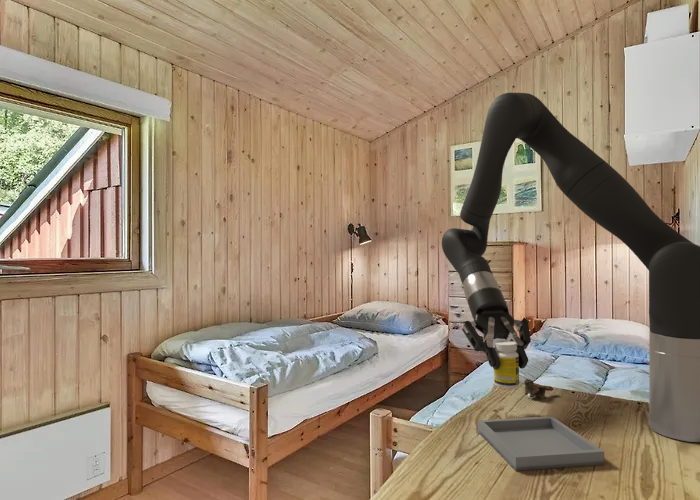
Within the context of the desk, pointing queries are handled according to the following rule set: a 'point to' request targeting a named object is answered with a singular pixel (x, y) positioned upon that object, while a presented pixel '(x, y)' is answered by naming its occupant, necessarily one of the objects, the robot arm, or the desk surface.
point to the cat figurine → (535, 389)
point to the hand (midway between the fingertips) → (510, 366)
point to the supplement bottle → (507, 365)
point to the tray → (539, 443)
